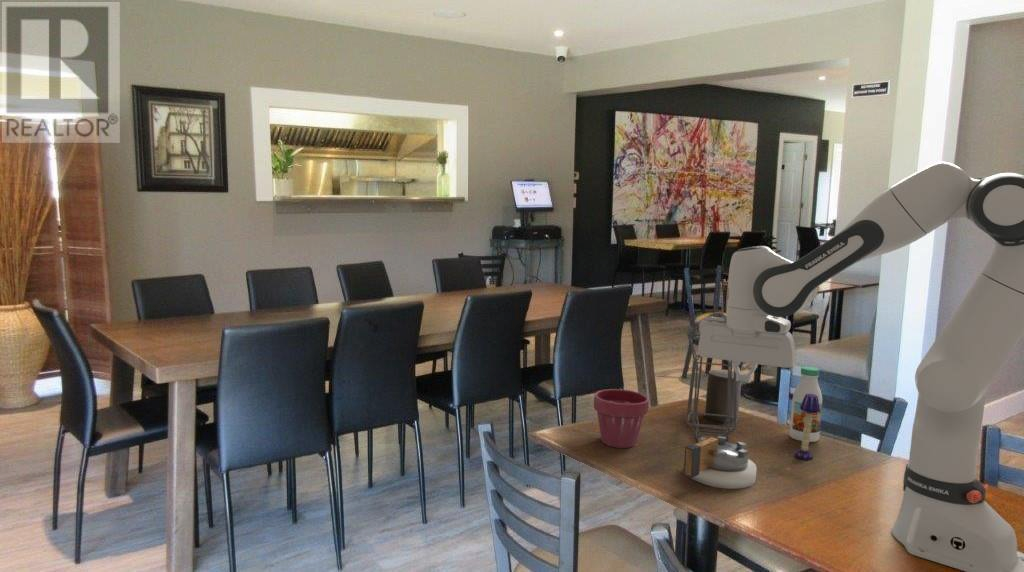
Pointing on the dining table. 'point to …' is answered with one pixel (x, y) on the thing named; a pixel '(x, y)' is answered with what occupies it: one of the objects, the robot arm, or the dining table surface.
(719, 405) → the pillar candle
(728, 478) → the white round plate
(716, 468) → the lugged steel disc
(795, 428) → the milk bottle
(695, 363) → the geometric lantern
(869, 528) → the dining table surface
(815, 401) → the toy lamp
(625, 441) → the plant pot
